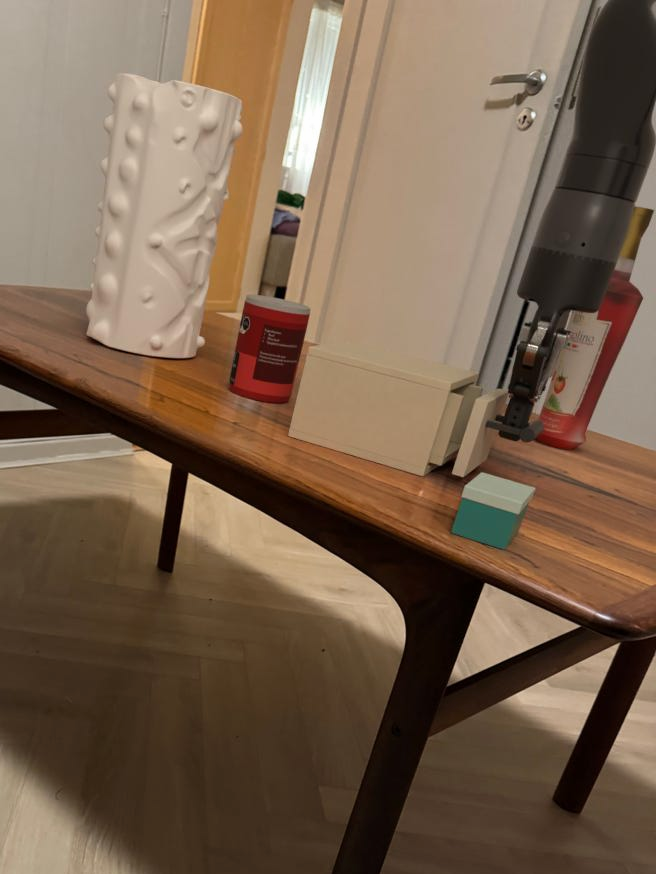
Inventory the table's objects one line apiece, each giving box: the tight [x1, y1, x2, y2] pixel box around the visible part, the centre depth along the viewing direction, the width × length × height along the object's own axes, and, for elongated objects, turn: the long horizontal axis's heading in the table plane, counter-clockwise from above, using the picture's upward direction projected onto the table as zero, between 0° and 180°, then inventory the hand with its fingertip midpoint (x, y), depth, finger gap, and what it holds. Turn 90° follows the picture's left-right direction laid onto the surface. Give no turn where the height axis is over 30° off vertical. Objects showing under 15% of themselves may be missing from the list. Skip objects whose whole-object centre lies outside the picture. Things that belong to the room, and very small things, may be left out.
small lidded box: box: [450, 471, 536, 551], centre depth 74 cm, size 5×7×4 cm
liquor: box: [536, 205, 655, 451], centre depth 111 cm, size 7×7×28 cm
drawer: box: [429, 384, 544, 478], centre depth 92 cm, size 18×11×7 cm, turn 61°
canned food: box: [228, 294, 311, 404], centre depth 109 cm, size 8×8×11 cm
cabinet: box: [287, 340, 479, 477], centre depth 94 cm, size 15×13×9 cm
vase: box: [85, 72, 243, 359], centre depth 120 cm, size 17×16×32 cm
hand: (509, 438), depth 89 cm, fingers closed
